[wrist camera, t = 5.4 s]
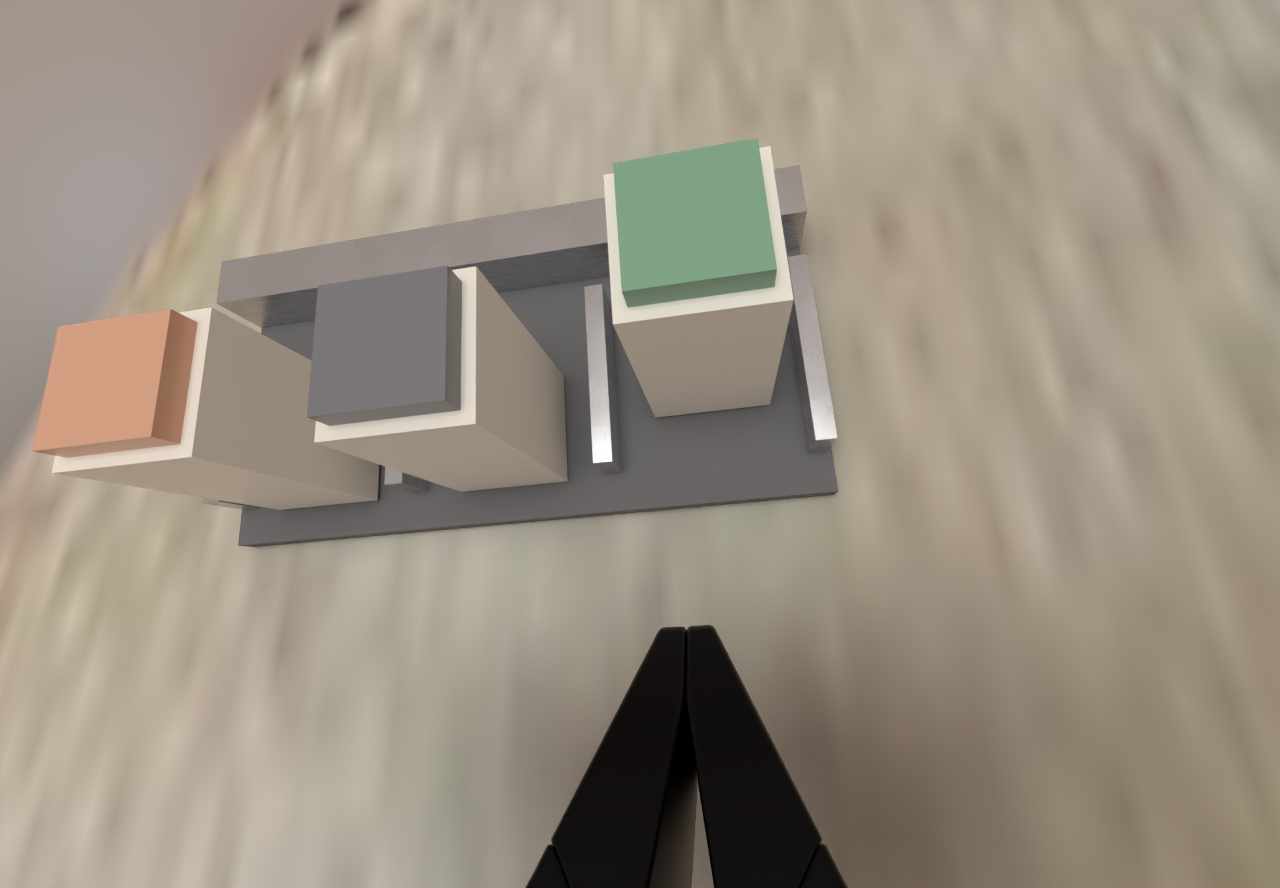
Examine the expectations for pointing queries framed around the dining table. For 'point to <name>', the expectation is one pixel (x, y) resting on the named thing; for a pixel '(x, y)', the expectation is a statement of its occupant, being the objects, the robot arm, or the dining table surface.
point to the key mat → (587, 449)
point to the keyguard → (518, 260)
